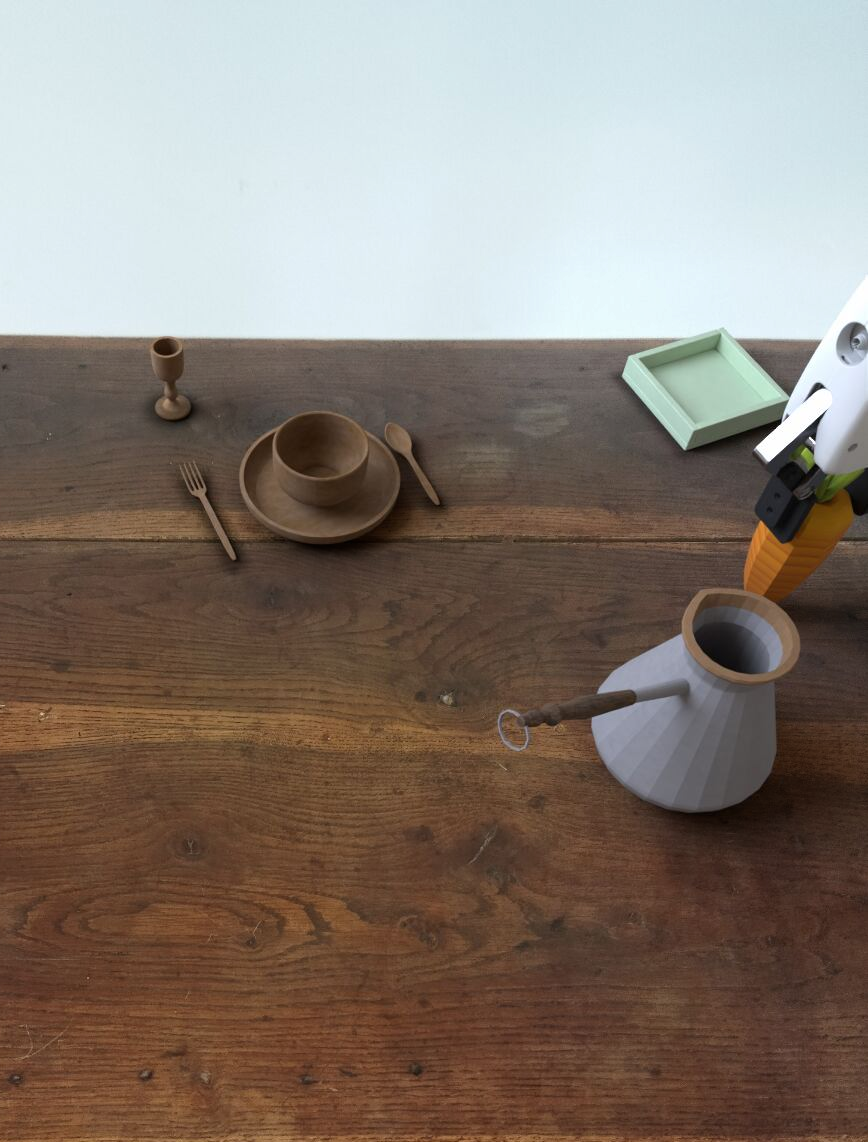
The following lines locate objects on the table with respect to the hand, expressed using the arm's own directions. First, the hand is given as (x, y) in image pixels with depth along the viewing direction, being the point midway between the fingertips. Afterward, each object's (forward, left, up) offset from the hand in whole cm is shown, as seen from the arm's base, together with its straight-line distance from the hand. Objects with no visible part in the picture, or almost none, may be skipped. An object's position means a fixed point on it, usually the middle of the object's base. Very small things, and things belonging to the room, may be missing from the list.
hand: (810, 511), depth 67 cm
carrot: (0, 0, -10) cm, 10 cm away
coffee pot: (+17, +8, -10) cm, 21 cm away
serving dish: (-9, -20, -10) cm, 24 cm away
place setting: (+24, -26, -10) cm, 37 cm away
